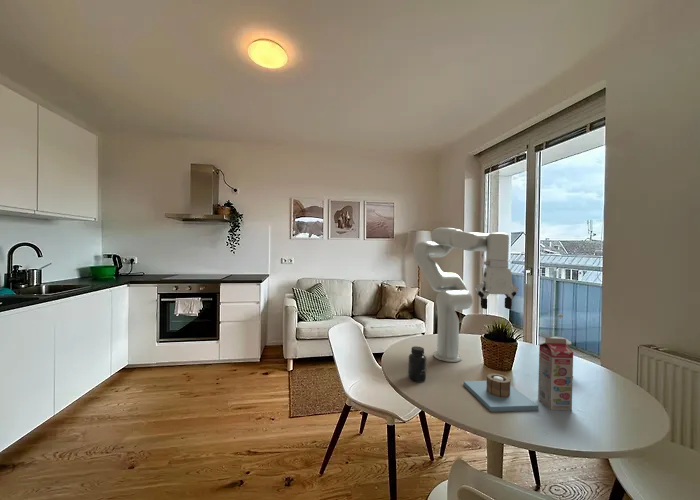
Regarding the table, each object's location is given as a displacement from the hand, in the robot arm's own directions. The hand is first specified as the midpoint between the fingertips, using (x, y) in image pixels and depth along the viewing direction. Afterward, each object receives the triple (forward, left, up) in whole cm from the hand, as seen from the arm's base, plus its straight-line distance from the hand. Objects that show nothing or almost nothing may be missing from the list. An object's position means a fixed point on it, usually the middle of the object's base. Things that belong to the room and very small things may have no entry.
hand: (496, 308), depth 115 cm
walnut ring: (+12, -6, -27) cm, 30 cm away
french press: (-6, +31, -28) cm, 43 cm away
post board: (+12, -6, -28) cm, 31 cm away
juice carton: (+18, +10, -28) cm, 35 cm away
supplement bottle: (-3, -30, -28) cm, 41 cm away
